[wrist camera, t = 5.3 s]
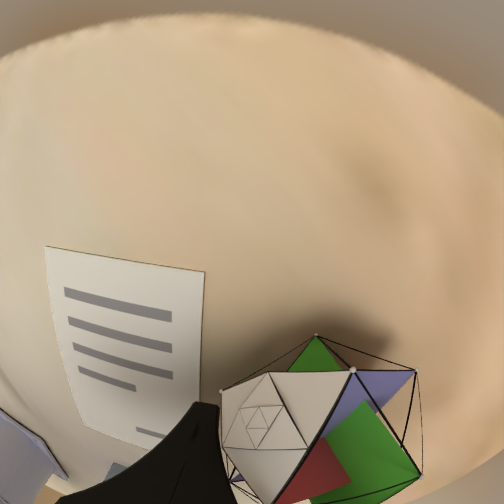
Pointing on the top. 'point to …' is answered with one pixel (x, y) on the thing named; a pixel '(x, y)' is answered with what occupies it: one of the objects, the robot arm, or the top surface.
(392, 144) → the top surface
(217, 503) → the robot arm
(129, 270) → the letter
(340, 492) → the geometric puzzle
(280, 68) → the top surface
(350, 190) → the top surface
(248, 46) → the top surface
